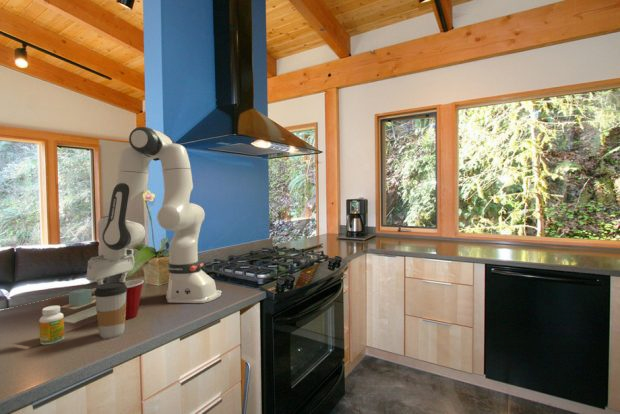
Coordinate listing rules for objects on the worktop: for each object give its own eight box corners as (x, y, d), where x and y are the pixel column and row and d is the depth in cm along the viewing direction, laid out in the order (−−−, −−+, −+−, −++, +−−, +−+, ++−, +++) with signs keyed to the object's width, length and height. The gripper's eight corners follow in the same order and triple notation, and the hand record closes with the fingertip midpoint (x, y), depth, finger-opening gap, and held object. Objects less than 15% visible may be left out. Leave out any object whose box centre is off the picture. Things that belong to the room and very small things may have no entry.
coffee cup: (123, 338, 90) (122, 287, 90) (90, 342, 88) (89, 290, 88) (131, 326, 98) (130, 280, 98) (101, 330, 96) (100, 282, 96)
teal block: (91, 302, 120) (91, 289, 120) (79, 306, 115) (78, 293, 115) (82, 301, 121) (81, 288, 121) (69, 305, 116) (68, 292, 116)
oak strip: (122, 294, 132) (122, 283, 131) (75, 310, 112) (75, 298, 112) (107, 292, 134) (107, 282, 134) (59, 308, 114) (58, 296, 114)
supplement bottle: (50, 346, 86) (49, 311, 86) (35, 344, 87) (33, 310, 87) (69, 337, 91) (68, 305, 91) (54, 335, 92) (53, 303, 92)
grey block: (126, 304, 119) (125, 292, 119) (74, 324, 100) (73, 310, 100) (109, 302, 121) (109, 290, 121) (56, 322, 102) (55, 308, 102)
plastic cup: (122, 311, 112) (121, 278, 112) (150, 311, 112) (150, 278, 112) (100, 323, 101) (99, 287, 101) (132, 323, 101) (131, 287, 101)
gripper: (94, 258, 120) (96, 293, 120) (136, 249, 139) (137, 279, 140) (81, 257, 121) (83, 292, 122) (125, 249, 141) (126, 279, 141)
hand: (113, 285), depth 131 cm, fingers open, 8 cm apart
